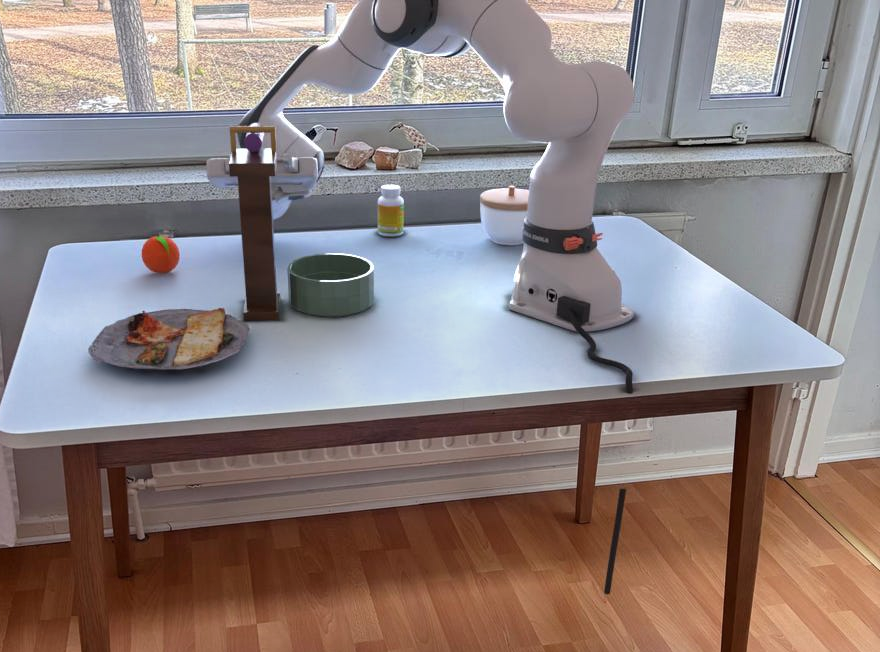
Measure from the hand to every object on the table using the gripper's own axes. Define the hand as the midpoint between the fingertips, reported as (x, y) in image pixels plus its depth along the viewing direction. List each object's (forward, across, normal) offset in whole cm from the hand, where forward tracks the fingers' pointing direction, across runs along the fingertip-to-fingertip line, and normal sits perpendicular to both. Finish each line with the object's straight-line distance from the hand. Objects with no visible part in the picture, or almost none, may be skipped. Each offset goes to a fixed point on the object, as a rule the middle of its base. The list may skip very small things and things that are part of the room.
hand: (260, 158), depth 177 cm
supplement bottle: (-32, +25, +6) cm, 41 cm away
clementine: (-12, -19, +18) cm, 29 cm away
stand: (+6, 0, +28) cm, 28 cm away
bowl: (+3, +12, +26) cm, 29 cm away
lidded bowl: (-27, +49, +9) cm, 57 cm away
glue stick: (+12, 0, +2) cm, 13 cm away
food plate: (+19, -14, +36) cm, 43 cm away
